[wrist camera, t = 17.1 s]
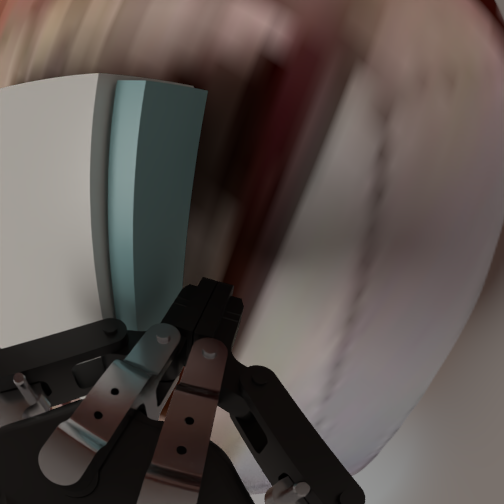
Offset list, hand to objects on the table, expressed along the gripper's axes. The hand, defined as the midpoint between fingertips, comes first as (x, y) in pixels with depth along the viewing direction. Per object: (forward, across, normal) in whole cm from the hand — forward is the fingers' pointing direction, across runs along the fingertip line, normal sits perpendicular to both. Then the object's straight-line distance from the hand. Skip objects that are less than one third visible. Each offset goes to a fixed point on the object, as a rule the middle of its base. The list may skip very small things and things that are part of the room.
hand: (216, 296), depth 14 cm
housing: (+4, +12, 0) cm, 12 cm away
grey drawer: (+2, +10, 0) cm, 11 cm away
